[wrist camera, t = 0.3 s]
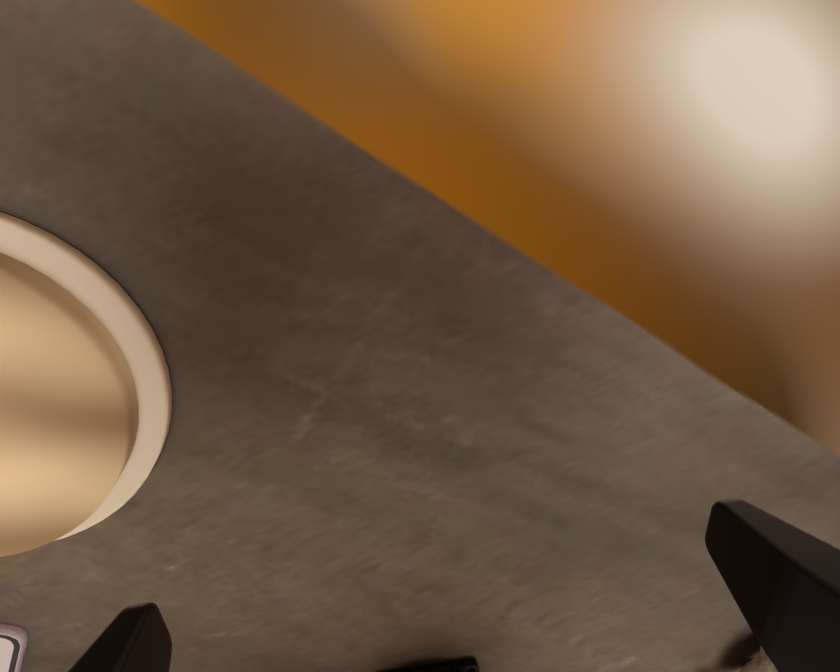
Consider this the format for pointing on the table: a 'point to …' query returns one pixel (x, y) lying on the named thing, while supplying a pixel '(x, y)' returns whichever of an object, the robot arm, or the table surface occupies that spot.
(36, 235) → the stand
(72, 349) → the disk with upright post
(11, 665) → the smartphone
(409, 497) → the table surface
